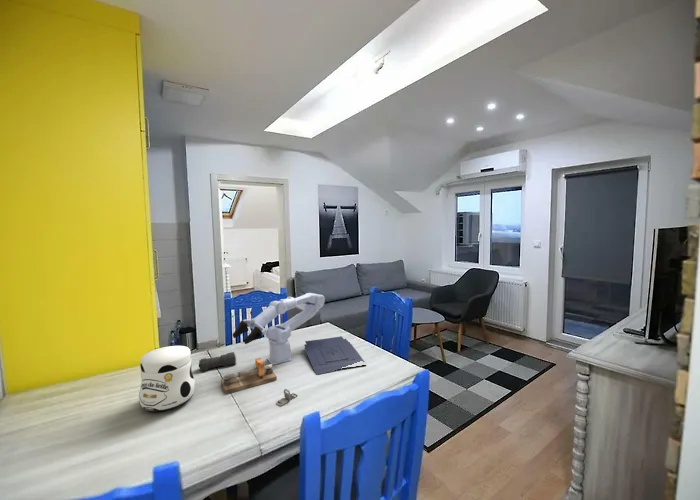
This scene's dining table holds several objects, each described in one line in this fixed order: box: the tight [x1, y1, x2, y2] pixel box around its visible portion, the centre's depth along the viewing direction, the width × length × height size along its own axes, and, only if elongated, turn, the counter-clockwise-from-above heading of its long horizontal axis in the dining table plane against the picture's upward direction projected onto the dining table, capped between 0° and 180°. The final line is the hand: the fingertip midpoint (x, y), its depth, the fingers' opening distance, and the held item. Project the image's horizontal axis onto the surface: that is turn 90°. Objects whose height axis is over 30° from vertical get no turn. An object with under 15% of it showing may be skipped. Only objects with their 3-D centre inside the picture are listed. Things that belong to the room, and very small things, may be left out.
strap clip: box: [275, 388, 298, 407], centre depth 110 cm, size 8×3×4 cm, turn 144°
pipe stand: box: [220, 363, 278, 395], centre depth 123 cm, size 20×10×5 cm, turn 123°
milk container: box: [138, 345, 196, 413], centre depth 108 cm, size 17×17×18 cm
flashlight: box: [198, 351, 237, 372], centre depth 136 cm, size 15×5×5 cm, turn 121°
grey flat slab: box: [303, 335, 365, 375], centre depth 147 cm, size 24×30×4 cm
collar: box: [255, 357, 265, 377], centre depth 125 cm, size 2×6×5 cm, turn 32°
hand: (238, 339), depth 126 cm, fingers open, 7 cm apart
